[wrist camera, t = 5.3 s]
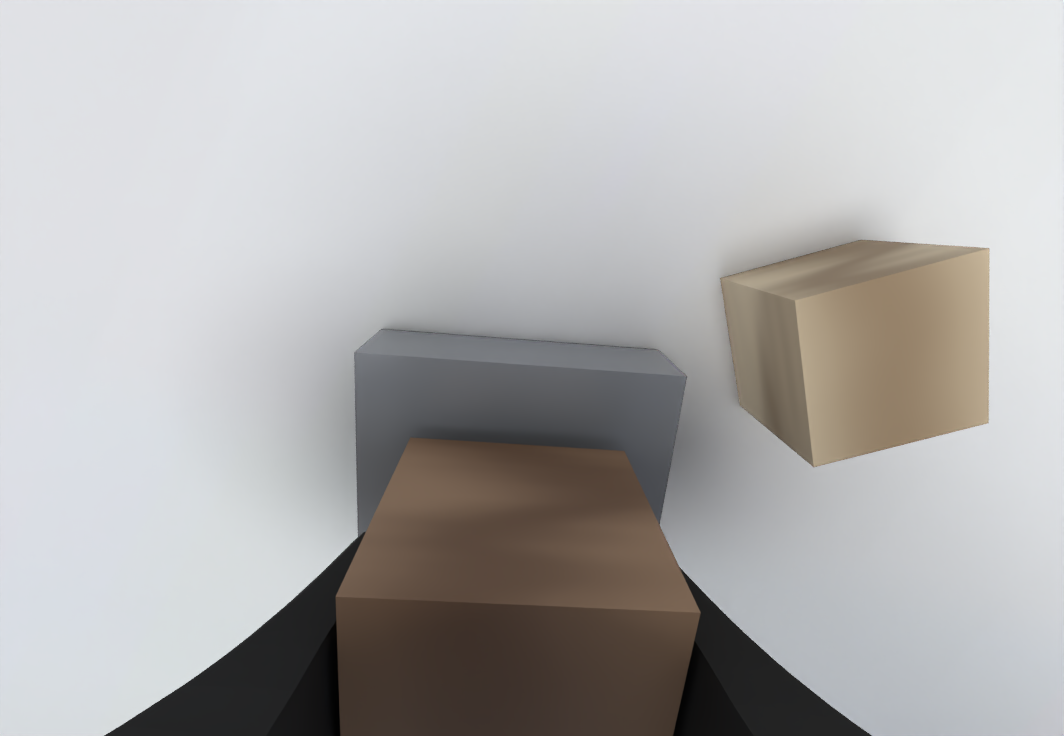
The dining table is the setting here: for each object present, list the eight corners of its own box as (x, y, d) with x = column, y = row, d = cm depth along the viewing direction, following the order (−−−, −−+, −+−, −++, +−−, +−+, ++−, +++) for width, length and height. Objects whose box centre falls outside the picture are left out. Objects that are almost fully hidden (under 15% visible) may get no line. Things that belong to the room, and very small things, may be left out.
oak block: (859, 239, 14) (988, 248, 10) (868, 370, 15) (988, 423, 11) (718, 277, 14) (794, 300, 10) (738, 404, 15) (813, 467, 11)
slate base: (658, 349, 14) (687, 376, 12) (620, 576, 17) (638, 636, 14) (381, 329, 14) (354, 352, 12) (382, 565, 16) (359, 625, 14)
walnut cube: (624, 450, 12) (701, 612, 7) (598, 622, 13) (645, 853, 8) (410, 437, 11) (335, 596, 7) (407, 613, 13) (344, 848, 8)
